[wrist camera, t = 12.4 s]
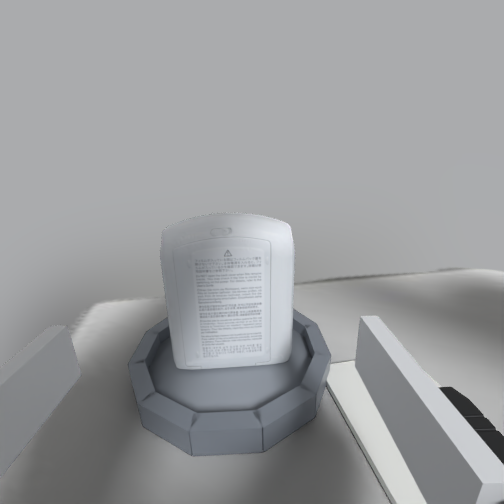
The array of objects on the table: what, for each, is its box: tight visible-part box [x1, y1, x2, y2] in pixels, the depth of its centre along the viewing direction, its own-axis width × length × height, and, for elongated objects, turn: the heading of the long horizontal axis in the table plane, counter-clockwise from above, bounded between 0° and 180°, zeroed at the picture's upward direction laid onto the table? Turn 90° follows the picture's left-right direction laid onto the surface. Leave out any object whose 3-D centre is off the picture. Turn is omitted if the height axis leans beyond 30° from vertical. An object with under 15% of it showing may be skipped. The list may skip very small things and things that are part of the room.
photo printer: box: [160, 213, 295, 370], centre depth 22 cm, size 10×4×12 cm, turn 95°
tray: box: [128, 309, 331, 456], centre depth 23 cm, size 16×16×2 cm
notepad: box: [326, 360, 441, 504], centre depth 17 cm, size 8×12×1 cm, turn 10°
